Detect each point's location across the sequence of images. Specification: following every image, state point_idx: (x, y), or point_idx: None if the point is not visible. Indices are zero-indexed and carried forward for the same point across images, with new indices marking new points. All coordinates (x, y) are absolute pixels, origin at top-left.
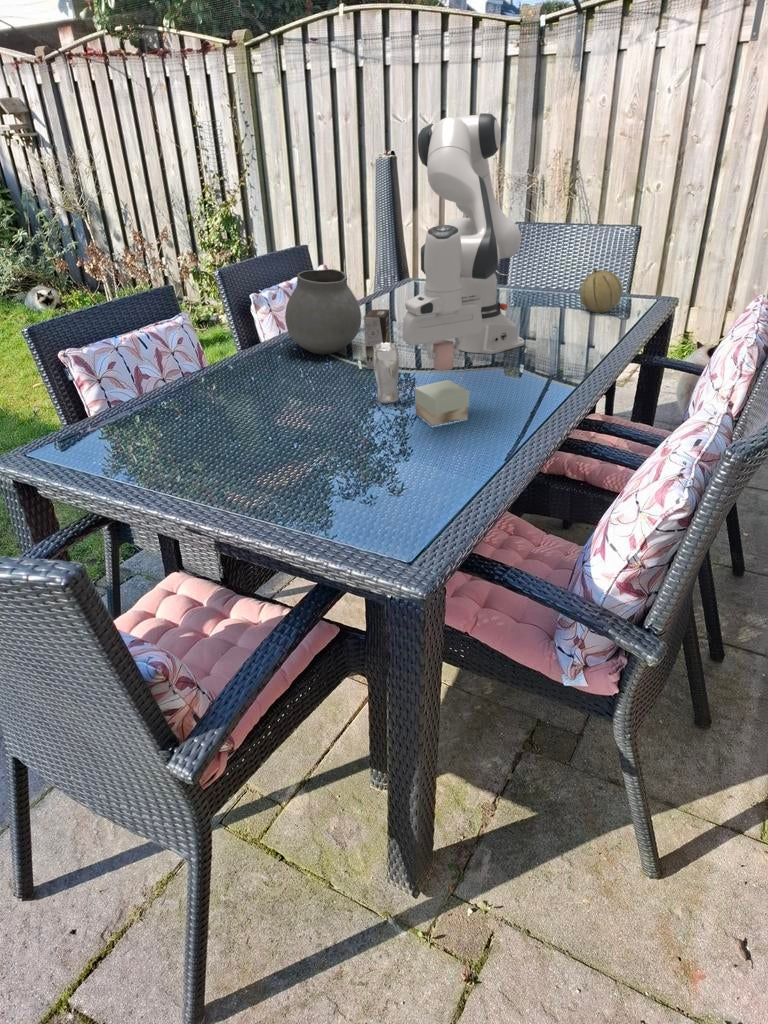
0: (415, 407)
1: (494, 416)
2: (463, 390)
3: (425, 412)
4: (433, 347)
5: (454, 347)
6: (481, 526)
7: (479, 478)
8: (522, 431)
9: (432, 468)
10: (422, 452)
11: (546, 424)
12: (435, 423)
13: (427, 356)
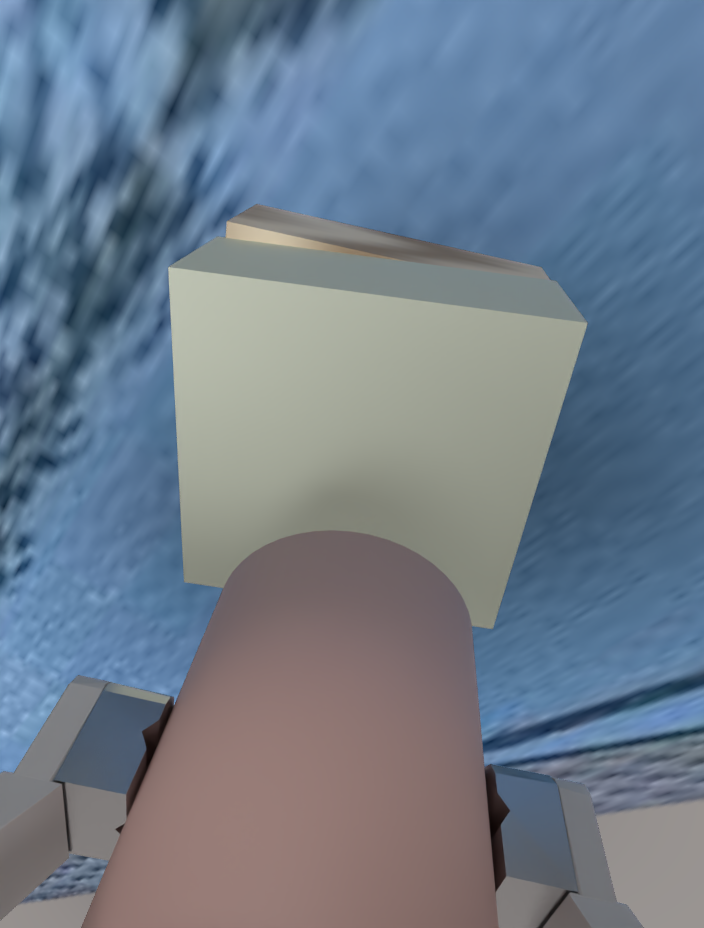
0: (242, 213)
1: (614, 556)
2: (471, 595)
3: None
4: (98, 887)
5: (544, 913)
6: (39, 898)
7: None
8: (552, 721)
9: (44, 698)
10: (60, 601)
11: (694, 742)
12: None
13: (64, 694)
